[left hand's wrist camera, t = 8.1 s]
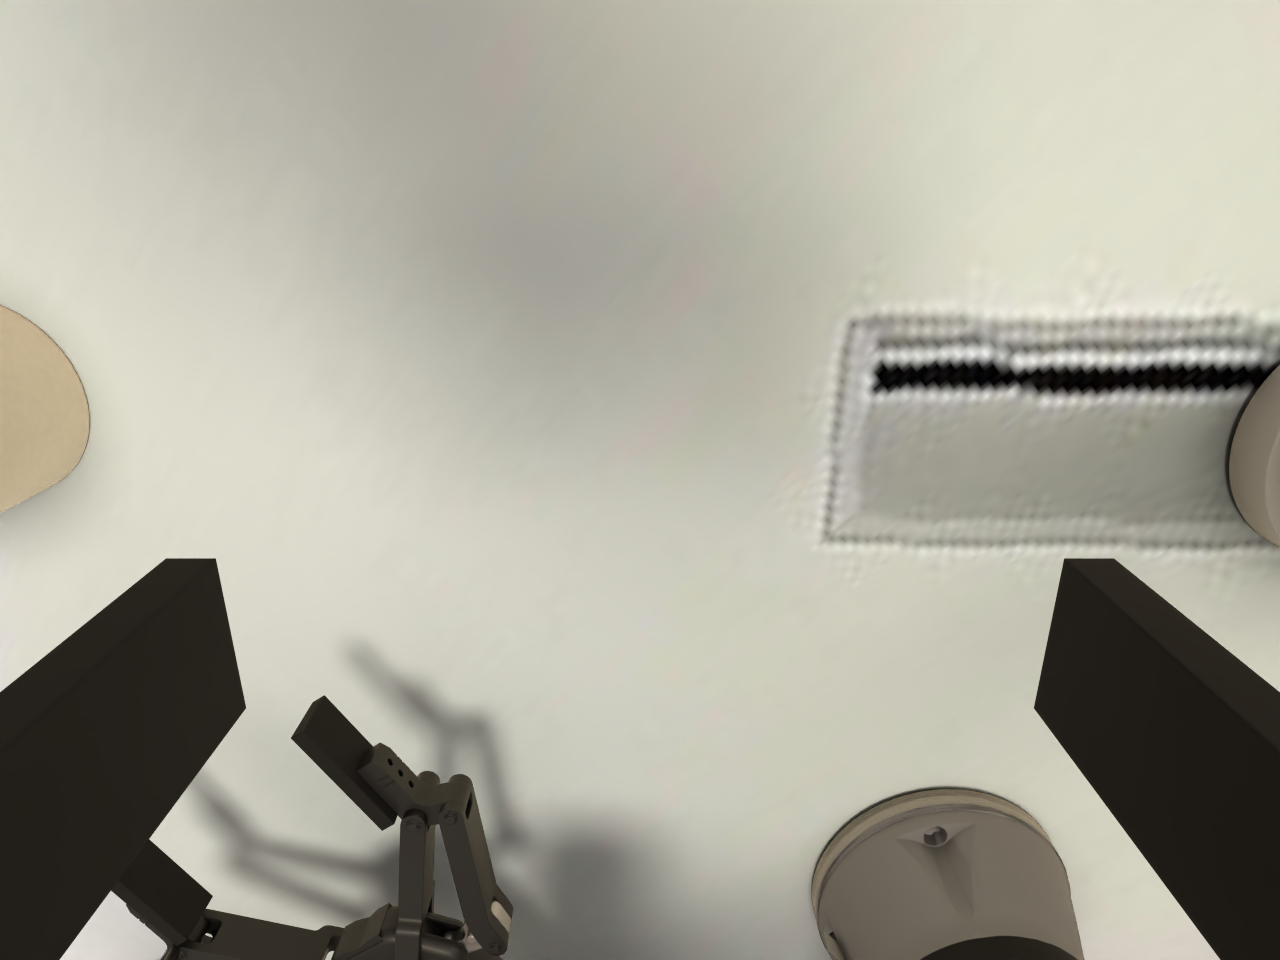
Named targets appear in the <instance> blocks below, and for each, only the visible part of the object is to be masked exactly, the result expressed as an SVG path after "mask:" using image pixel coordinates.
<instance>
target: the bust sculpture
mask: <svg viewBox="0 0 1280 960" xmlns="http://www.w3.org/2000/svg"><path fill="white" fill-rule="evenodd" d="M1229 477H1230V485H1231V490H1232V494H1233V497H1234V500H1235V503H1236V505H1237V507H1238V509H1239V511H1240V513H1241V514H1242V516H1243V517H1244V519H1245V520H1246V521H1247V523H1248V524H1249V525H1250V526H1251V527H1252V528H1253V529H1254V530H1255V531H1256V532H1257V533H1258V534H1260V535H1261V536H1262V537H1264V538H1265V539H1267V540H1268V541H1270V542H1272V543H1273V544H1275V545H1277V546H1279V547H1280V365H1279V366H1278V367H1277V368H1276V369H1275V370H1274V371H1273V372H1272V373H1271V374H1270V375H1269V377H1268V378H1267V379H1266V380H1265V381H1264V382H1263V384H1262V385H1261V386H1260V388H1259V389H1258V390H1257V392H1256V393H1255V395H1254V396H1253V398H1252V399H1251V401H1250V402H1249V404H1248V406H1247V407H1246V409H1245V411H1244V413H1243V415H1242V417H1241V419H1240V422H1239V424H1238V427H1237V429H1236V432H1235V435H1234V439H1233V443H1232V447H1231V453H1230V461H1229Z"/></svg>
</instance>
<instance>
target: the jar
mask: <svg viewBox="0 0 1280 960" xmlns="http://www.w3.org/2000/svg"><path fill="white" fill-rule="evenodd" d="M88 434H89V410H88V403H87V399H86V396H85V392H84V389H83V387H82V384H81V382H80V380H79V377H78V375H77V373H76V372H75V370H74V368H73V366H72V365H71V363H70V362H69V360H68V359H67V357H66V356H65V355H64V353H63V352H62V351H61V350H60V348H59V347H58V346H57V345H56V344H55V343H54V342H53V340H51V339H50V338H49V337H48V336H47V335H46V334H45V333H44V332H43V331H42V330H41V329H39V328H38V327H37V326H35V325H34V324H33V323H31V322H30V321H29V320H27V319H25V318H24V317H22V316H20V315H19V314H17V313H15V312H13V311H11V310H9V309H7V308H5V307H3V306H0V513H2V512H4V511H6V510H8V509H9V508H11V507H13V506H15V505H17V504H19V503H21V502H23V501H25V500H27V499H28V498H30V497H32V496H34V495H36V494H38V493H40V492H42V491H44V490H45V489H47V488H49V487H51V486H53V485H55V484H57V483H58V482H59V481H61V480H62V479H64V478H65V477H66V476H67V475H68V474H69V473H70V472H71V471H72V470H73V469H74V468H75V466H76V465H77V463H78V462H79V460H80V458H81V456H82V454H83V452H84V450H85V447H86V444H87V440H88Z"/></svg>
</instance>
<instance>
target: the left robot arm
mask: <svg viewBox="0 0 1280 960" xmlns="http://www.w3.org/2000/svg"><path fill="white" fill-rule="evenodd" d="M245 709H246V705H245V700H244V696H243V691H242V686H241V681H240V676H239V671H238V666H237V661H236V656H235V651H234V646H233V641H232V636H231V632H230V627H229V622H228V617H227V612H226V607H225V602H224V597H223V592H222V587H221V582H220V577H219V572H218V568H217V563H216V559H165V560H164V561H163V562H161V563H160V564H159V565H158V566H156V567H155V568H154V569H153V570H151V571H150V572H149V573H148V574H146V575H145V576H144V577H143V578H141V579H140V580H139V581H138V582H137V583H135V584H134V585H133V586H132V587H130V588H129V589H128V590H127V591H125V592H124V593H123V594H122V595H120V596H119V597H118V598H117V599H115V600H114V601H113V602H112V603H110V604H109V605H108V606H107V607H106V608H104V609H103V610H102V611H101V612H99V613H98V614H97V615H96V616H94V617H93V618H92V619H91V620H89V621H88V622H87V623H86V624H84V625H83V626H82V627H81V628H79V629H78V630H77V631H76V632H75V633H73V634H72V635H71V636H70V637H68V638H67V639H66V640H65V641H63V642H62V643H61V644H60V645H58V646H57V647H56V648H55V649H53V650H52V651H51V652H50V653H48V654H47V655H46V656H45V657H44V658H42V659H41V660H40V661H39V662H37V663H36V664H35V665H34V666H32V667H31V668H30V669H29V670H27V671H26V672H25V673H24V674H22V675H21V676H20V677H19V678H17V679H16V680H15V681H14V682H13V683H11V684H10V685H9V686H8V687H6V688H5V689H4V690H3V691H1V692H0V960H60V958H61V957H62V956H63V954H64V953H65V952H66V950H67V949H68V947H69V946H70V945H71V943H72V942H73V941H74V939H75V938H76V937H77V935H78V934H79V933H80V931H81V930H82V929H83V927H84V926H85V925H86V923H87V922H88V921H89V919H90V918H91V916H92V915H93V914H94V912H95V911H96V910H97V908H98V907H99V906H100V904H101V903H102V902H103V900H104V899H105V898H106V896H107V895H108V894H109V892H110V891H111V889H112V888H113V887H114V885H115V884H116V883H117V881H118V880H119V879H120V877H121V876H122V875H123V873H124V872H125V871H126V869H127V868H128V867H129V865H130V864H131V862H132V861H133V860H134V858H135V857H136V856H137V854H138V853H139V852H140V850H141V849H142V848H143V846H144V845H145V844H146V842H147V841H148V840H149V838H150V837H151V836H152V834H153V833H154V831H155V830H156V829H157V827H158V826H159V825H160V823H161V822H162V821H163V819H164V818H165V817H166V815H167V814H168V813H169V811H170V810H171V809H172V807H173V806H174V804H175V803H176V802H177V800H178V799H179V798H180V796H181V795H182V794H183V792H184V791H185V790H186V788H187V787H188V786H189V784H190V783H191V782H192V780H193V779H194V778H195V776H196V775H197V773H198V772H199V771H200V769H201V768H202V767H203V765H204V764H205V763H206V761H207V760H208V759H209V757H210V756H211V755H212V753H213V752H214V751H215V749H216V748H217V746H218V745H219V744H220V742H221V741H222V740H223V738H224V737H225V736H226V734H227V733H228V732H229V730H230V729H231V728H232V726H233V725H234V724H235V722H236V721H237V719H238V718H239V717H240V715H241V714H242V713H243V711H244V710H245ZM1034 709H1035V710H1036V711H1037V713H1038V714H1039V715H1040V717H1041V718H1042V720H1043V721H1044V722H1045V724H1046V725H1047V726H1048V728H1049V729H1050V730H1051V732H1052V733H1053V734H1054V736H1055V737H1056V738H1057V740H1058V741H1059V742H1060V744H1061V745H1062V746H1063V748H1064V749H1065V751H1066V752H1067V753H1068V755H1069V756H1070V757H1071V759H1072V760H1073V761H1074V763H1075V764H1076V765H1077V767H1078V768H1079V769H1080V771H1081V772H1082V773H1083V775H1084V776H1085V778H1086V779H1087V780H1088V782H1089V783H1090V784H1091V786H1092V787H1093V788H1094V790H1095V791H1096V792H1097V794H1098V795H1099V796H1100V798H1101V799H1102V800H1103V802H1104V803H1105V804H1106V806H1107V807H1108V809H1109V810H1110V811H1111V813H1112V814H1113V815H1114V817H1115V818H1116V819H1117V821H1118V822H1119V823H1120V825H1121V826H1122V827H1123V829H1124V830H1125V831H1126V833H1127V834H1128V836H1129V837H1130V838H1131V840H1132V841H1133V842H1134V844H1135V845H1136V846H1137V848H1138V849H1139V850H1140V852H1141V853H1142V854H1143V856H1144V857H1145V858H1146V860H1147V861H1148V863H1149V864H1150V865H1151V867H1152V868H1153V869H1154V871H1155V872H1156V873H1157V875H1158V876H1159V877H1160V879H1161V880H1162V881H1163V883H1164V884H1165V885H1166V887H1167V888H1168V889H1169V891H1170V892H1171V894H1172V895H1173V896H1174V898H1175V899H1176V900H1177V902H1178V903H1179V904H1180V906H1181V907H1182V908H1183V910H1184V911H1185V912H1186V914H1187V915H1188V916H1189V918H1190V919H1191V921H1192V922H1193V923H1194V925H1195V926H1196V927H1197V929H1198V930H1199V931H1200V933H1201V934H1202V935H1203V937H1204V938H1205V939H1206V941H1207V942H1208V943H1209V945H1210V946H1211V947H1212V949H1213V950H1214V952H1215V953H1216V954H1217V956H1218V957H1219V958H1220V960H1280V692H1279V691H1277V690H1276V689H1275V688H1274V687H1272V686H1271V685H1270V684H1269V683H1267V682H1266V681H1265V680H1264V679H1263V678H1261V677H1260V676H1259V675H1258V674H1256V673H1255V672H1254V671H1253V670H1251V669H1250V668H1249V667H1248V666H1246V665H1245V664H1244V663H1243V662H1241V661H1240V660H1239V659H1238V658H1236V657H1235V656H1234V655H1233V654H1232V653H1230V652H1229V651H1228V650H1227V649H1225V648H1224V647H1223V646H1222V645H1220V644H1219V643H1218V642H1217V641H1215V640H1214V639H1213V638H1212V637H1210V636H1209V635H1208V634H1207V633H1205V632H1204V631H1203V630H1202V629H1201V628H1199V627H1198V626H1197V625H1196V624H1194V623H1193V622H1192V621H1191V620H1189V619H1188V618H1187V617H1186V616H1184V615H1183V614H1182V613H1181V612H1179V611H1178V610H1177V609H1176V608H1174V607H1173V606H1172V605H1171V604H1170V603H1168V602H1167V601H1166V600H1165V599H1163V598H1162V597H1161V596H1160V595H1158V594H1157V593H1156V592H1155V591H1153V590H1152V589H1151V588H1150V587H1148V586H1147V585H1146V584H1145V583H1143V582H1142V581H1141V580H1140V579H1139V578H1137V577H1136V576H1135V575H1134V574H1132V573H1131V572H1130V571H1129V570H1127V569H1126V568H1125V567H1124V566H1122V565H1121V564H1120V563H1119V562H1117V561H1116V560H1115V559H1064V563H1063V568H1062V572H1061V577H1060V582H1059V587H1058V592H1057V597H1056V602H1055V607H1054V612H1053V617H1052V622H1051V627H1050V632H1049V636H1048V641H1047V646H1046V651H1045V656H1044V661H1043V666H1042V671H1041V676H1040V681H1039V686H1038V691H1037V696H1036V700H1035V705H1034Z"/></svg>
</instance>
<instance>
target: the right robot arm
mask: <svg viewBox="0 0 1280 960" xmlns="http://www.w3.org/2000/svg"><path fill="white" fill-rule="evenodd" d="M291 739H292V740H293V741H294V742H295V743H296V744H297V745H298V746H299V747H300V748H301V749H302V750H303V751H304V752H305V753H306V754H307V755H308V756H309V757H310V758H311V759H312V760H313V761H314V762H315V763H316V764H317V765H318V766H319V767H320V768H321V769H322V770H323V771H324V772H325V773H326V774H327V775H328V776H329V777H330V778H331V779H332V780H333V781H334V782H335V783H336V784H337V785H338V786H339V787H340V788H341V789H342V790H343V791H344V793H345V794H346V795H347V796H348V797H349V798H350V799H351V800H352V801H353V802H354V803H355V804H356V805H357V806H358V807H359V808H360V809H361V810H362V811H363V812H364V813H365V814H366V815H367V816H368V817H369V818H370V819H371V820H372V821H373V822H374V823H375V824H376V825H377V826H378V827H379V828H380V829H381V830H382V831H383V830H384V829H386V828H388V827H390V826H391V825H393V824H394V823H395V821H396V818H397V815H398V816H399V817H400V818H401V819H402V821H401V825H400V865H399V906H392V905H391V904H390V903H388V904H386V905H385V906H383V907H381V908H379V909H378V910H377V911H376V912H375V913H374V914H373V915H372V916H371V917H369V918H365V919H361V920H357V921H355V922H353V923H351V924H349V925H347V926H346V927H345V928H340V927H335V926H330V925H327V926H323V927H322V928H321V929H319V930H317V931H313V930H308V929H304V928H299V927H294V926H289V925H284V924H279V923H274V922H269V921H264V920H259V919H254V918H249V917H244V916H239V915H235V914H230V913H225V912H220V911H215V910H210V909H206V907H207V905H208V904H209V902H210V900H211V898H212V897H213V896H212V895H211V894H210V893H209V892H208V891H206V890H205V889H204V888H203V887H202V886H201V885H200V884H199V883H197V882H196V881H195V880H194V879H193V878H192V877H191V876H190V875H189V874H187V873H186V872H185V871H184V870H183V869H182V868H181V867H180V866H178V865H177V864H176V863H175V862H174V861H173V860H172V859H171V858H169V857H168V856H167V855H166V854H165V853H164V852H163V851H162V850H160V849H159V848H158V847H157V846H156V845H155V844H154V843H153V842H151V841H150V840H148V841H147V842H146V844H145V845H144V846H143V848H142V849H141V850H140V852H139V853H138V854H137V856H136V857H135V858H134V860H133V861H132V862H131V864H130V865H129V867H128V868H127V869H126V871H125V872H124V873H123V875H122V876H121V877H120V879H119V880H118V881H117V883H116V884H115V885H114V887H113V888H112V889H111V891H112V892H114V893H115V894H116V895H117V896H118V897H119V898H121V899H122V900H123V901H124V902H125V903H126V906H127V907H128V909H129V911H130V913H132V914H133V915H134V916H135V917H136V918H137V919H140V921H141V922H142V923H143V924H144V923H145V925H146V926H147V927H148V928H149V929H150V930H152V931H153V932H154V933H155V934H156V935H158V936H159V937H160V938H161V939H162V940H163V941H164V942H165V943H166V945H167V950H166V952H165V953H164V955H163V957H162V958H161V960H325V958H326V956H327V954H328V952H330V951H334V953H333V956H332V959H331V960H502V959H501V958H500V957H499V956H500V955H502V954H504V953H505V952H506V950H507V944H508V938H509V933H510V927H511V920H512V914H513V906H512V904H511V903H510V902H509V900H508V899H507V898H506V896H505V895H504V894H503V892H502V891H501V890H500V888H499V887H498V886H497V884H496V881H495V877H494V872H493V868H492V864H491V860H490V856H489V851H488V847H487V843H486V839H485V835H484V830H483V826H482V822H481V818H480V814H479V809H478V805H477V801H476V797H475V793H474V788H473V784H472V781H471V779H470V778H469V777H468V776H465V775H463V774H457V775H454V776H452V777H451V778H450V780H449V782H448V783H444V784H439V783H440V779H439V777H438V775H437V774H435V773H434V772H431V771H424V772H422V773H420V774H419V775H418V777H417V776H416V775H415V774H414V773H413V772H412V771H411V770H410V769H409V768H408V767H407V766H406V764H405V763H404V762H402V760H401V759H400V758H399V757H397V755H396V754H395V753H394V752H393V751H392V750H391V748H389V747H387V746H386V745H384V744H382V743H379V744H377V745H375V746H374V747H373V746H372V745H371V744H370V743H369V742H368V741H367V740H366V739H365V738H364V737H363V736H362V734H361V733H360V732H359V731H358V730H357V729H356V728H355V727H354V726H353V725H352V724H351V723H350V722H349V721H348V720H347V719H346V718H345V716H344V715H343V714H342V713H341V712H340V711H339V710H338V709H337V708H336V707H335V706H334V705H333V704H332V703H331V702H330V701H329V700H328V699H327V697H326V696H325V695H324V696H322V697H321V698H319V699H318V700H316V701H314V702H313V703H312V704H311V706H310V708H309V709H308V711H307V713H306V714H305V716H304V718H303V719H302V721H301V723H300V724H299V726H298V727H297V729H296V731H295V732H294V734H293V736H292V737H291ZM436 824H440V828H441V832H442V836H443V840H444V844H445V847H446V851H447V855H448V859H449V863H450V866H451V870H452V874H453V878H454V882H455V886H456V889H457V893H458V897H459V901H460V905H461V909H462V912H463V916H464V919H465V921H464V923H463V922H461V921H459V920H456V919H452V918H448V917H445V916H441V915H437V914H434V911H433V907H434V884H435V881H434V880H433V866H434V843H435V825H436ZM812 901H813V908H814V912H815V916H816V920H817V925H818V929H819V933H820V936H821V939H822V941H823V944H824V946H825V948H826V950H827V951H828V953H829V955H830V956H831V958H832V960H1084V956H1083V951H1082V946H1081V941H1080V936H1079V931H1078V927H1077V922H1076V918H1075V913H1074V909H1073V905H1072V901H1071V893H1070V885H1069V881H1068V876H1067V873H1066V869H1065V867H1064V864H1063V862H1062V860H1061V858H1060V857H1059V855H1058V853H1057V852H1056V850H1055V848H1054V847H1053V845H1052V843H1051V842H1050V840H1049V839H1048V837H1047V835H1046V834H1045V832H1044V831H1043V829H1042V828H1041V827H1040V826H1039V824H1038V823H1037V822H1036V821H1035V820H1034V819H1033V818H1032V817H1031V816H1030V815H1028V814H1027V813H1026V812H1024V811H1023V810H1022V809H1020V808H1019V807H1017V806H1015V805H1014V804H1012V803H1010V802H1008V801H1005V800H1003V799H1001V798H998V797H995V796H992V795H989V794H985V793H981V792H975V791H970V790H959V789H940V790H929V791H922V792H917V793H912V794H908V795H904V796H901V797H898V798H895V799H892V800H890V801H887V802H884V803H882V804H880V805H878V806H876V807H874V808H872V809H870V810H869V811H867V812H865V813H863V814H862V815H860V816H859V817H857V818H856V819H855V820H853V821H852V822H851V823H849V824H848V825H847V826H846V827H845V828H844V829H843V830H842V831H841V832H840V833H839V834H838V835H837V836H836V837H835V838H834V839H833V840H832V842H831V843H830V844H829V845H828V847H827V848H826V850H825V851H824V853H823V855H822V857H821V859H820V861H819V863H818V865H817V868H816V871H815V874H814V878H813V885H812ZM206 933H209V934H211V935H212V936H213V938H211V937H209V936H206V935H205V934H206Z"/></svg>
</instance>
